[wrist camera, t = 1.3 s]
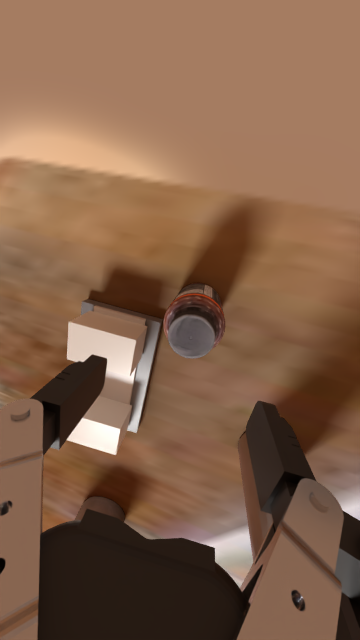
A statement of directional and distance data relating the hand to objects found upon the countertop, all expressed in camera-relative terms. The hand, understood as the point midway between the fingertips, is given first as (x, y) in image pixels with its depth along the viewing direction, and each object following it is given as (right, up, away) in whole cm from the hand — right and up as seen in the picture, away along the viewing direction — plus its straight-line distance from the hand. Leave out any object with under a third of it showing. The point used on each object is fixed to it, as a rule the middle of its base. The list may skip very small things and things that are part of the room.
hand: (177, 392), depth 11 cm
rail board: (-10, -4, +22) cm, 24 cm away
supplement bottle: (+3, +6, +17) cm, 18 cm away
